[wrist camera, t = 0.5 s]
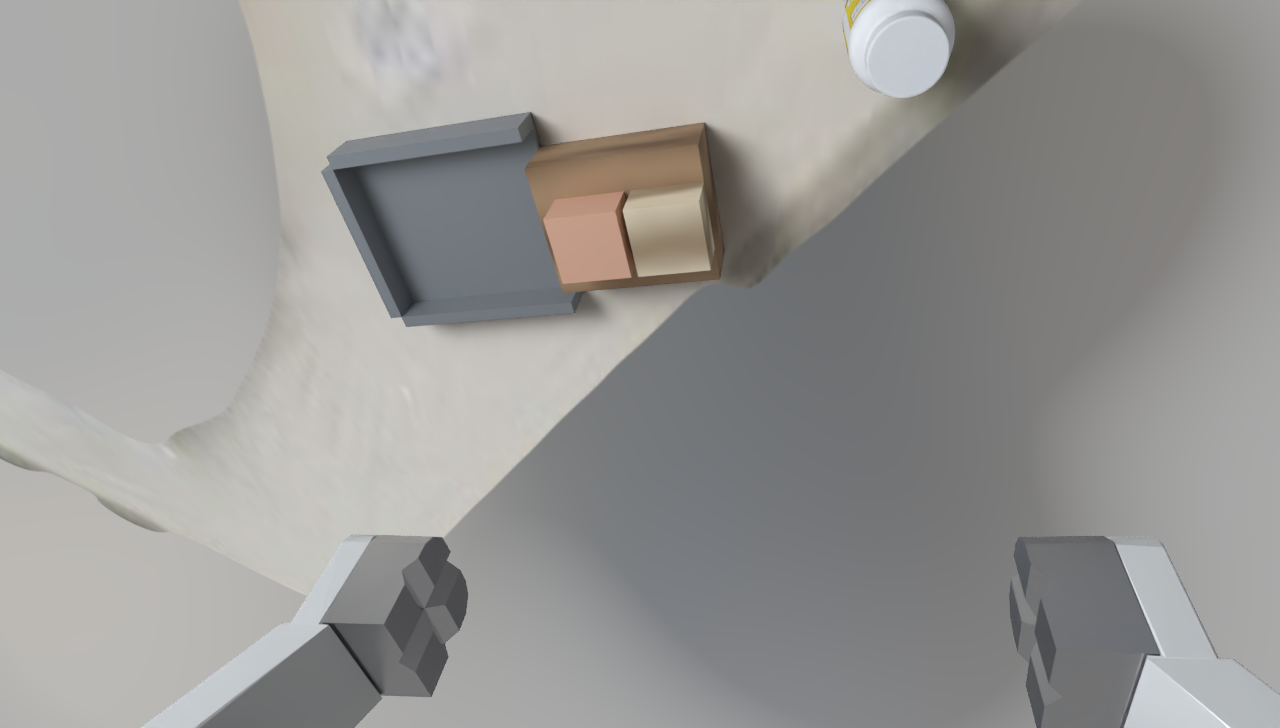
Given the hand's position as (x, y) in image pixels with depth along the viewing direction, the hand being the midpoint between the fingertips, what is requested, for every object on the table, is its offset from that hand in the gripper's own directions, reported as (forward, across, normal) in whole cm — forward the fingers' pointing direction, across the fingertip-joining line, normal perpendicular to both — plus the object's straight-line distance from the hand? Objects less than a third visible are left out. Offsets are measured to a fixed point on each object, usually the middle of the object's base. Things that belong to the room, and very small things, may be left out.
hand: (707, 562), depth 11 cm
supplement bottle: (+44, -6, +3) cm, 44 cm away
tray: (+43, +25, +13) cm, 52 cm away
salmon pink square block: (+39, +14, +13) cm, 44 cm away
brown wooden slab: (+43, +12, +13) cm, 47 cm away
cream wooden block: (+39, +8, +13) cm, 42 cm away
